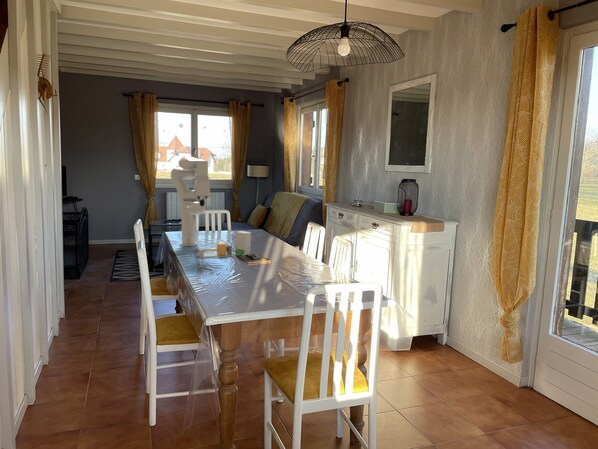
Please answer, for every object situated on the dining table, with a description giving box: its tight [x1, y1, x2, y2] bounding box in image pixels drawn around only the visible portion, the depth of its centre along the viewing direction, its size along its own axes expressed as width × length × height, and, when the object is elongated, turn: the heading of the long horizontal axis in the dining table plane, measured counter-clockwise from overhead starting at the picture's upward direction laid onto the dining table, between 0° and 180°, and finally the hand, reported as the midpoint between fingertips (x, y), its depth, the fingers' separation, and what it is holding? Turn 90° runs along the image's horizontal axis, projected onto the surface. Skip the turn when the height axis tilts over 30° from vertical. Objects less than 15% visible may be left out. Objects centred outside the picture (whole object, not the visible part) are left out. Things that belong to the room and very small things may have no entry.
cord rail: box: [196, 244, 234, 259], centre depth 292 cm, size 10×22×6 cm, turn 115°
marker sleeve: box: [216, 242, 227, 255], centre depth 294 cm, size 5×5×7 cm
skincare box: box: [234, 230, 252, 256], centre depth 296 cm, size 8×7×16 cm
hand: (202, 205), depth 300 cm, fingers closed
